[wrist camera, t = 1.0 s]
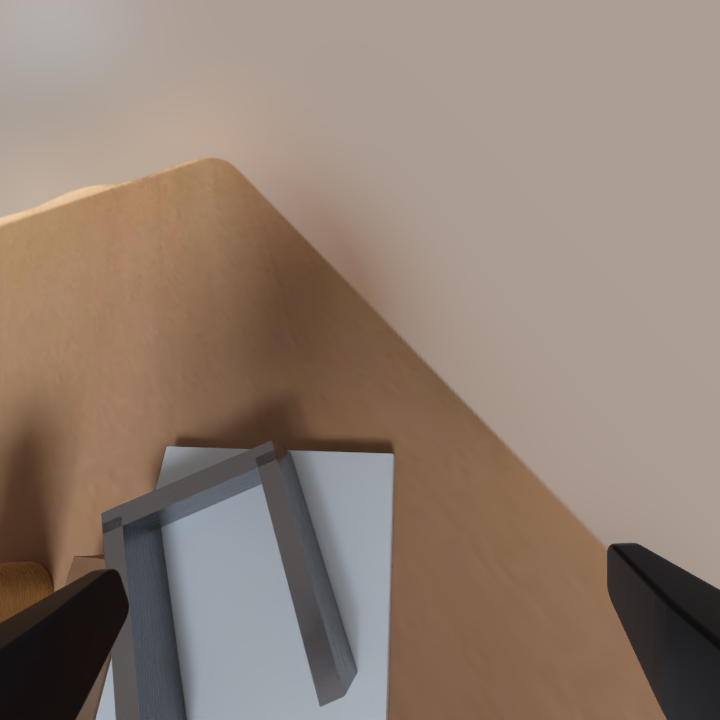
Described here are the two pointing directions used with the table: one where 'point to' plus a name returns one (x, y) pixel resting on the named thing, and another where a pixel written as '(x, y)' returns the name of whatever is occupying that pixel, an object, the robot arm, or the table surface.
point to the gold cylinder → (22, 586)
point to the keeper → (152, 596)
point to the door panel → (277, 591)
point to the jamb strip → (90, 708)
